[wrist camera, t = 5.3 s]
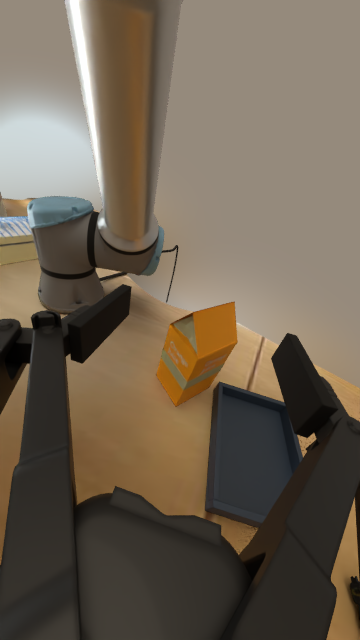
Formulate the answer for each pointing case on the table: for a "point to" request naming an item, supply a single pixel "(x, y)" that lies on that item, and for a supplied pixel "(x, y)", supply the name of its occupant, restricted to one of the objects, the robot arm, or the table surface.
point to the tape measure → (355, 591)
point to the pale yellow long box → (16, 240)
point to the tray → (248, 454)
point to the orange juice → (196, 351)
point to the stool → (2, 208)
